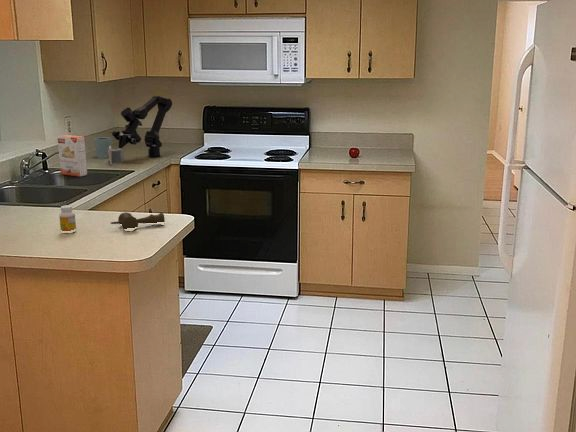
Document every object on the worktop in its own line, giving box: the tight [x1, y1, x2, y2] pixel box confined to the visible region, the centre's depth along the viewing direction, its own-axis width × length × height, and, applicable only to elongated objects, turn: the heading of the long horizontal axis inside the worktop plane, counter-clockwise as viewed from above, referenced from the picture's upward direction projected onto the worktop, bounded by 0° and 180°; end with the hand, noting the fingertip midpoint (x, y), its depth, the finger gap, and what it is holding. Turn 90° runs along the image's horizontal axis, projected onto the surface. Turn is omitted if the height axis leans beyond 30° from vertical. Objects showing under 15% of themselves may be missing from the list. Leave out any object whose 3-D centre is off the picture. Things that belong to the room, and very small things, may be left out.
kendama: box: [110, 212, 166, 230], centre depth 237 cm, size 6×10×20 cm
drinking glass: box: [93, 136, 112, 160], centre depth 391 cm, size 10×10×12 cm
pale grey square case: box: [108, 145, 113, 166], centre depth 368 cm, size 10×2×10 cm, turn 14°
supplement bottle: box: [58, 204, 77, 231], centre depth 230 cm, size 5×5×10 cm
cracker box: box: [57, 134, 88, 178], centre depth 335 cm, size 14×6×21 cm, turn 62°
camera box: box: [107, 148, 125, 164], centre depth 377 cm, size 8×7×8 cm
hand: (119, 147), depth 369 cm, fingers closed
